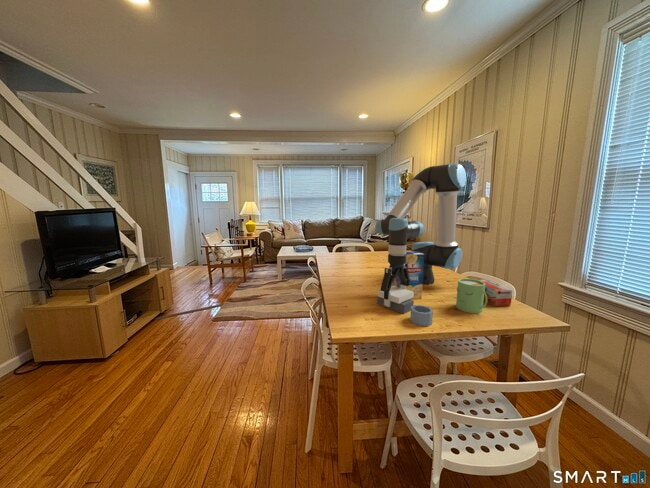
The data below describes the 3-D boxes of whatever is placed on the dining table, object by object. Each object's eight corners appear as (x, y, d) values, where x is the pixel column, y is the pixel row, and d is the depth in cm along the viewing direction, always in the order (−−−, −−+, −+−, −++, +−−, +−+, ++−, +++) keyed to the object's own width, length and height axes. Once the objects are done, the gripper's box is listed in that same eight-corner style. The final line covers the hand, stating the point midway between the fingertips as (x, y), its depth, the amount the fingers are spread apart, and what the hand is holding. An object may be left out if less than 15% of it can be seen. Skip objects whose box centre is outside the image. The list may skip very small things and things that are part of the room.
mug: (450, 306, 113) (452, 280, 111) (466, 302, 117) (468, 277, 116) (476, 317, 102) (479, 289, 100) (493, 313, 106) (496, 285, 104)
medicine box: (511, 306, 113) (513, 289, 112) (494, 307, 112) (496, 290, 111) (485, 294, 128) (487, 279, 127) (470, 295, 127) (472, 279, 126)
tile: (392, 290, 120) (392, 285, 119) (413, 297, 111) (413, 291, 111) (377, 296, 113) (377, 290, 113) (398, 303, 105) (399, 297, 104)
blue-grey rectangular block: (386, 300, 120) (386, 292, 120) (413, 309, 110) (413, 300, 109) (377, 303, 116) (377, 295, 115) (403, 314, 105) (404, 304, 105)
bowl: (417, 314, 104) (417, 303, 104) (436, 321, 98) (436, 309, 98) (406, 320, 99) (406, 308, 99) (425, 328, 93) (426, 315, 92)
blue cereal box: (421, 298, 122) (424, 254, 118) (399, 299, 121) (401, 254, 117) (415, 293, 128) (417, 251, 125) (394, 294, 127) (396, 251, 124)
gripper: (405, 249, 119) (403, 293, 123) (372, 256, 104) (371, 306, 108) (419, 251, 113) (417, 298, 117) (387, 259, 99) (385, 312, 102)
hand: (395, 302), depth 113 cm, fingers closed on tile, 11 cm apart
